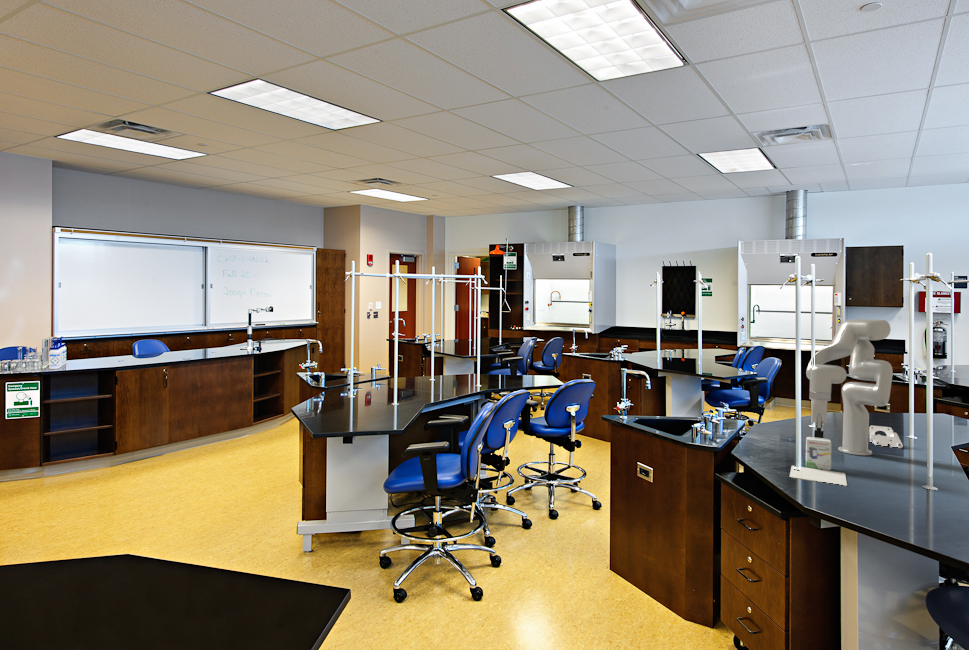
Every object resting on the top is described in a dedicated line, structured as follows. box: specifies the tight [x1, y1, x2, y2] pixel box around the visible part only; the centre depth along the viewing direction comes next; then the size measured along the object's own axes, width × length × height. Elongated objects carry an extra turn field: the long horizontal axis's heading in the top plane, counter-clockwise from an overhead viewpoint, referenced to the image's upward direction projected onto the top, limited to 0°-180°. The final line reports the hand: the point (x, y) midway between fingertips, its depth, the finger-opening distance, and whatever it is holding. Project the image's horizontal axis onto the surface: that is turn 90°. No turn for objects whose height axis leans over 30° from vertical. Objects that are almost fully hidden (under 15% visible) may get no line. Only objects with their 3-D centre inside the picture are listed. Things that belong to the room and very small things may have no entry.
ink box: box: [805, 436, 832, 471], centre depth 215 cm, size 9×5×12 cm, turn 62°
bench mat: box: [789, 465, 848, 487], centre depth 205 cm, size 18×18×1 cm
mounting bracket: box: [869, 424, 904, 449], centre depth 256 cm, size 12×6×11 cm, turn 61°
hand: (818, 440), depth 222 cm, fingers closed
